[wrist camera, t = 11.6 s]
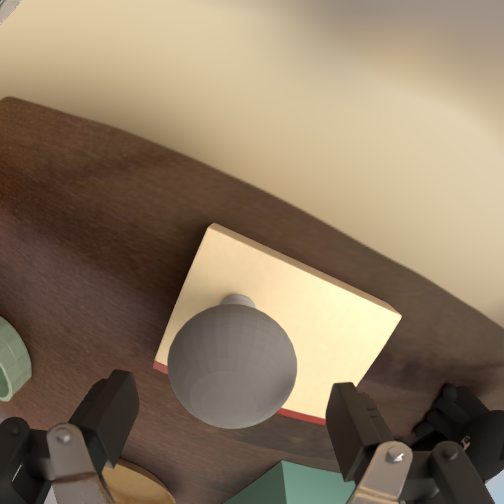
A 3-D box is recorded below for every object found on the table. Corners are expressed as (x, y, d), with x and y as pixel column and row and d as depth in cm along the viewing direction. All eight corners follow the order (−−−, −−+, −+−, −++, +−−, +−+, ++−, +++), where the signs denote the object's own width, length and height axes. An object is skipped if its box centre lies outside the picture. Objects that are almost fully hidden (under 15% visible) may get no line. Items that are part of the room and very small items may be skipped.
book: (161, 348, 24) (151, 367, 21) (213, 221, 21) (207, 226, 18) (318, 404, 25) (325, 425, 22) (386, 302, 23) (402, 316, 20)
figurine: (429, 369, 25) (505, 458, 10) (489, 376, 26) (550, 436, 11) (359, 464, 28) (391, 552, 13) (428, 458, 29) (465, 523, 14)
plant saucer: (72, 464, 28) (66, 475, 26) (98, 431, 26) (90, 445, 24) (151, 508, 30) (149, 519, 28) (197, 485, 28) (195, 499, 26)
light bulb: (236, 248, 19) (224, 309, 9) (298, 308, 20) (337, 404, 10) (176, 308, 20) (124, 399, 10) (237, 361, 20) (232, 468, 11)
